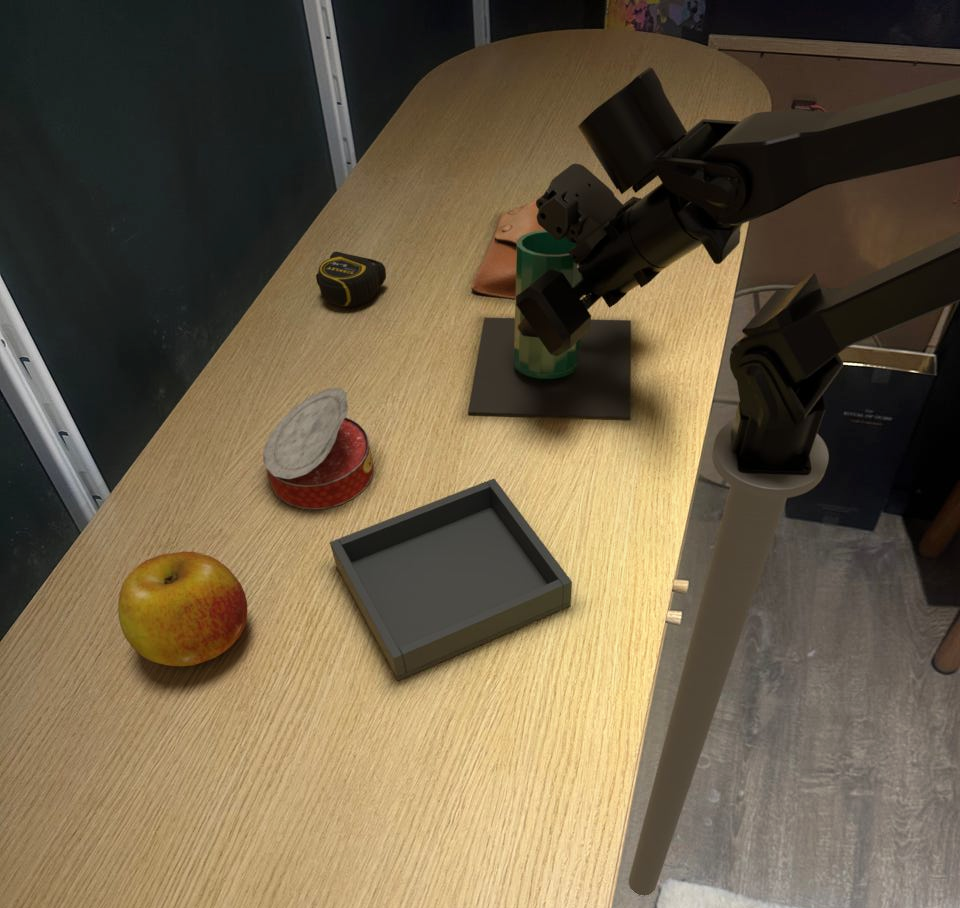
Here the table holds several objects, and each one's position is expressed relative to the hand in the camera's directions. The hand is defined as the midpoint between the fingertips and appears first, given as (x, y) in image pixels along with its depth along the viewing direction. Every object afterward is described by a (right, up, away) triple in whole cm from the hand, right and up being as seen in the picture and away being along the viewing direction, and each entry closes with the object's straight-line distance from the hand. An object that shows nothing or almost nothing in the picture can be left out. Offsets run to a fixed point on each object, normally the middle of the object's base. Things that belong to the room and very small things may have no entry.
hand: (542, 311), depth 85 cm
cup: (+1, -4, +3) cm, 5 cm away
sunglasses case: (-1, +13, +17) cm, 22 cm away
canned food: (-21, -17, -3) cm, 27 cm away
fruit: (-29, -33, -14) cm, 46 cm away
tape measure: (-21, +8, +14) cm, 27 cm away
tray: (-9, -28, -12) cm, 32 cm away
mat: (+1, -4, +4) cm, 6 cm away
